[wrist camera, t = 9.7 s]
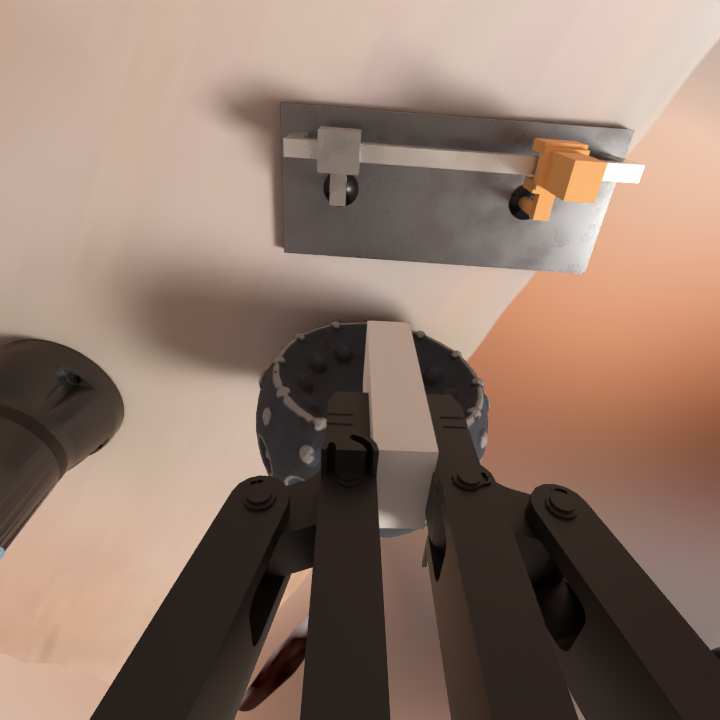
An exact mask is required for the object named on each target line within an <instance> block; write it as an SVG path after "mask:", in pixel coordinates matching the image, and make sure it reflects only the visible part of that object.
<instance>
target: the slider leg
mask: <svg viewBox="0 0 720 720" xmlns="http://www.w3.org/2000/svg"><path fill="white" fill-rule="evenodd" d="M588 146H589V145H587V144H583V143H580V142H577V141H569V140H556V139H542V138H535V139H534V143H533V147H532V150H533V151H536V152H538V153H540V155H539V159H538V163H537V167H536V171H535V175H534V176H525V179H524V183H523V187H524V188H525V189H527V190H528V191H530V192H531V193H534V194H535V196H534V199H533V201H532V200H531V199H530V198H528V197H522V198H521V199H520V200H519V202H518V205H519V207H520V208H521V209H522V210H523V211H525V212H526V213H527V214H528V215H529V217H530V218H531V219H532V220H539V221H548V220H549V217H550V213H551V210H552V206H553V203H554V199H555V196H556V197H558V198H559V199H561V200H563V201H570V202H583V203H595V200H596V197H597V194H598V191H599V188H600V185H601V182H602V179H603V176H604V173H605V170H606V167H607V164H608V163H607V162H604V161H602V160H599V159H596V158H593V157H590V156H589V153H590V151H589V150H587V149H588Z"/></svg>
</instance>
